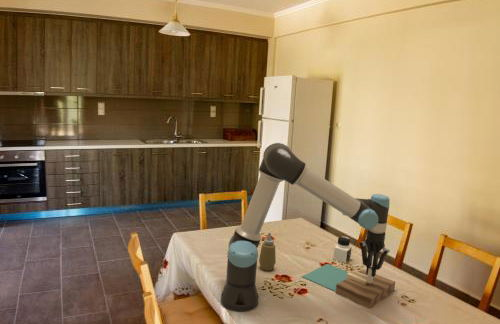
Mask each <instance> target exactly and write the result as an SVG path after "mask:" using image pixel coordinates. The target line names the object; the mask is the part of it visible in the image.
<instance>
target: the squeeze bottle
mask: <svg viewBox="0 0 500 324" xmlns="http://www.w3.org/2000/svg"><path fill="white" fill-rule="evenodd" d="M274 242H275V240H274V239H272V233H271V232H268V233H267V236H266V238H265V239H264V241H263V243H262V244H261V248H260V253H259V257H258V258H259V261H258V262H259V266H260V269H261V270H263V271H266V272H267V271H268V272H269V271H273V269H274V267H275V265H276V262H277V260H276V256H277V255H276V245H275V243H274Z"/></svg>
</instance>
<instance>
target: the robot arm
mask: <svg viewBox="0 0 500 324" xmlns="http://www.w3.org/2000/svg"><path fill="white" fill-rule="evenodd" d="M258 172H259V174H260V175H259V177H258V178H259V179H258V181H257V183H256V186H255V189H254V191H253V193H252V196H251V198H250V201H249V204H248V206H247V210H246V212H245V214H244V216H243V219H242V222H241V224H240V226H237V227H236V228H235V231H234V233H233V235H232V236H231V237H230V239H229V242H228V251H227V264H226V265H227V266H226V279H225V280H226V281H225V285H224V287H223V290H222V291H221V294H220V304H221V305H222V306H223V307H225V308H226V309H228V310H229V311H234V312H249V311H252V310H254V309H256V308H257V307H258V305H259V299H260V298H259V294H258V291H257V286H256V282H257V281H256V279H257V267H258V266H257V265H258V258H259V251H258V247H259V246H260V242H261V240H262V236H261V234H260V233H261V230H262V228H263V225H264V223H265V220H266V218H267V215H268V213H269V212H270V211H269V210H270V208H271V206H272V203H273V200H274V198H275V196H276V193H277V191H278V187H279V185H280V183H281V182H283V181H285V182H287V183H289V184H290V185H291V186H292V185H293V186H294V185H297V186H298V187H300V188H302V189H303V190H305V191H306V192H308V193H309V194H311V195H313V196H314V197H315V198H318V199H319V200H321V201H322V202H324V203H326V204H327V205H329V206H330V207H332V208H334V209H335V210H337V211H338V212H340V213H341V214H342V215H343V216H346V217H348V218H349V219H351V221H352V220H353V221H354V222H355V223H356V224H358V225H359V226H360V227H361V228H363V229H365V230H366V237H365V239H364V241H361V242H359V247H360V250H361V251H360V252H361V258H362V259H361V260H362V261H361V262H362V265H363V266H365V267H366V269H365V270H366V274H368V277H367V283H369V284H370V283H372V282H373V277H374V276H375V275H377V271H379V270H380V269H382V266H383V264H384V262H385V260H386V257H387V255H388V254H389V253H390V252H391V251H390V249H387V248H386V244H385V239H386V231H387V224H388V217H389V210H390V198H389V197H390V196H387V195H384V194H381V193H375V194H374V193H373V194H372V195H371V197H370V198H357V197H354V196H352V195H350V194H349V193H347V192H346V191H344V190H342V189H341V188H339V187H338V186H337V185H335V184H333V183H332V182H331V181H328V180H327V179H326V178H324V177H323V176H320V174H318V173H316V172H314V171H313V170H311V169H310V168H308V166H307V163H306V162H304V161H302V160H301V159H299V158H298V156H297V155H296V154H294V152H292V150H291V149H290V147H289V146H287V145H286V144H284V143H280V142H275V143H272V144H271V143H270V145H268V146H267V147H266V148H265V149H264V151H263V157H262V160H261V163H260V166H259V168H258ZM381 251H382V253H381V255H380V252H381ZM379 255H380V256H379ZM379 257H380V258H379Z"/></svg>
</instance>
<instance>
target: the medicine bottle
mask: <svg viewBox="0 0 500 324" xmlns="http://www.w3.org/2000/svg"><path fill="white" fill-rule="evenodd" d="M350 242H351V240H350V238H349V237H347V236H339V237H338V239H337V244H336V245H335V246H334V247H333V258H332V259H333V261H336V260H337V262H341V263H343V262H344V263H343V264H347V263H348V262H349V261H350V260H351V255H352V246H351V245H350ZM349 259H350V260H349Z"/></svg>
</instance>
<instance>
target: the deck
mask: <svg viewBox="0 0 500 324" xmlns="http://www.w3.org/2000/svg"><path fill="white" fill-rule="evenodd" d="M358 272H359V273H362V274H365V275H367V276H368V274H366V269H363V268H362V269H361V270H359V271H358ZM395 288H396V281H395V280H392V279H389V278H387V277H384V276H382V275H378V274H376V275H375V276H374V277H373V282H372V283H370V284H369V283H368V284H367V285H362V284H360V283H357V282H355V281H352V280H350V279H348V278H347V279H345V280H343V281H342V282H340V283H338V284H337V285H336V292H335V294H336V295H339V296H341V297H343V298H345V299H348V300H349V301H352V302H354V303H357V304H359V305H361V306H363V307H365V308H368V309H372V308H373V307H374V306H376V305H377V304H378V303H379V302H380V301H382V300H383V299H384V298H386V297H387V296H388V295H390V294H391V293H392V292H394V291H395Z"/></svg>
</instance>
